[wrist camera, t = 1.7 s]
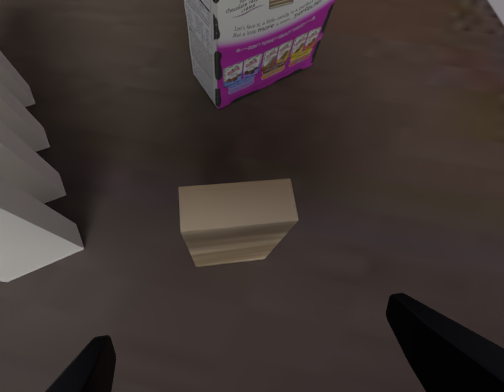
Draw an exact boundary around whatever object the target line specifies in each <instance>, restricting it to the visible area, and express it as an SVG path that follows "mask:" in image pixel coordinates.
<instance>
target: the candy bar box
mask: <svg viewBox="0 0 504 392" xmlns="http://www.w3.org/2000/svg"><path fill="white" fill-rule="evenodd" d="M334 2H335V0H184V6H185V11H186V20H187V29H188V37H189V46H190V54H191V62H192V70H193V75H194V76H195V78H196V79H197V81H198V82H199V84H200V85H201V86H202V87H203V88H204V90H205V91H206V93H207V94H208V96H209V97H210V99H211V100H212V102H213V103H214V104H215V106H216V107H217V109H221V108H223V107H225V106H227V105H230V104H232V103H234V102H236V101H238V100H240V99H242V98H244V97H246V96H248V95H250V94H252V93H254V92H257V91H259V90H261V89H263V88H265V87H267V86H269V85H271V84H273V83H275V82H277V81H279V80H281V79H284V78H286V77H288V76H290V75H292V74H294V73H296V72H299V71H301V70H303V69H305V68H307V67H309V66H311V65H312V63H313V60H314V57H315V55H316V52H317V49H318V46H319V43H320V40H321V38H322V36H323V33H324V30H325V27H326V24H327V21H328V19H329V16H330V13H331V10H332V8H333V5H334Z"/></svg>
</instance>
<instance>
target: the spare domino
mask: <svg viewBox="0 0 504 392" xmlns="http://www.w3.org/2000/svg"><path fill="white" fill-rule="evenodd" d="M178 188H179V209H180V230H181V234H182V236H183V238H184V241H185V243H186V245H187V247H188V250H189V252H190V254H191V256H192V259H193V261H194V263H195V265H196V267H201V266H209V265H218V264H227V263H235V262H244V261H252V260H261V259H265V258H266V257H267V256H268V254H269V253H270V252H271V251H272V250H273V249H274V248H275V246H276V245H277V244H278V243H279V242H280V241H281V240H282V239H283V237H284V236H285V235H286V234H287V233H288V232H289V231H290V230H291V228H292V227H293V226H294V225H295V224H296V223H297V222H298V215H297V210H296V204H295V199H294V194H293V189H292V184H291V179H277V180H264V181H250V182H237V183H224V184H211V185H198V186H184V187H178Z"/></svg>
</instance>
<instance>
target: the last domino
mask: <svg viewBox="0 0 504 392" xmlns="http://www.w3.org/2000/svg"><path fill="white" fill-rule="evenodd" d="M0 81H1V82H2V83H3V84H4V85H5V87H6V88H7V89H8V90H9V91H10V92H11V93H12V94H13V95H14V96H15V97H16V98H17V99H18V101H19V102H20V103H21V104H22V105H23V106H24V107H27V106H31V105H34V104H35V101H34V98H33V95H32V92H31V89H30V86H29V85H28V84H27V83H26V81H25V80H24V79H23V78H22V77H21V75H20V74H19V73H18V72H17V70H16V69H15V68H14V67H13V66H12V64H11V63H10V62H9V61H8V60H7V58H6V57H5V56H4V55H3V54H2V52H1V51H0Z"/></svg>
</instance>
